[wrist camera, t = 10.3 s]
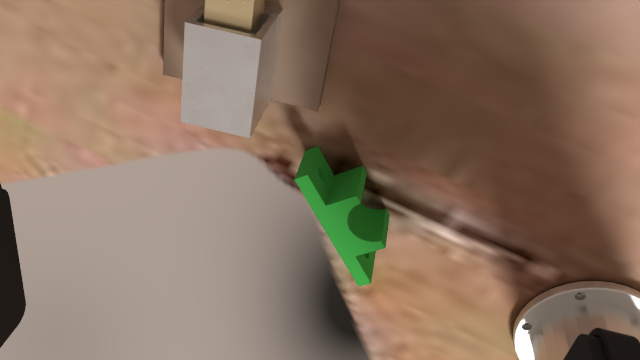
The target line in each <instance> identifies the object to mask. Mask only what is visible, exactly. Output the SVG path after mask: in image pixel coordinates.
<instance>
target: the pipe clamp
mask: <svg viewBox="0 0 640 360" xmlns="http://www.w3.org/2000/svg"><path fill="white" fill-rule="evenodd" d="M366 176H367V172H366V170H365V168H364V166H360V167H357V168H355V169H352V170H349V171H346V172H343V173H340V174H337V175H334V174H333V172H332V170H331V169H330V167H329V165H328V163H327V161H326V160H325V158H324V156H323V154H322V152H321V151H320V149H319V147H318V146H316V147H313V148H311V149H308V150H306V151H305V153H304V156H303V159H302V161H301V164H300V166H299V169H298V172H297V174H296V177H295V181H296V183H297V184H298V186H299V188H300V190H301V191H302V193H303V195H304V196H305V198H306V200H307V201H308V203H309V205H310V206H311V208H312V210H313V211H314V213H315V215H316V216H317V218H318V220H319V221H320V223H321V225H322V226H323V228H324V230H325V231H326V233H327V235H328V236H329V238H330V240H331V241H332V243H333V245H334V246H335V248H336V250H337V251H338V253H339V255H340V256H341V258H342V260H343V261H344V263H345V265H346V266H347V268H348V270H349V271H350V273H351V275H352V276H353V278H354V280H355V281H356V283H357V285H358V286H362V285H366V284H370V283H371V279H372V273H373V266H374V259H375V253H376V250H380V249H383V248H385V246H386V238H387V231H388V223H389V216H390V215H389V213H388V211H387V209H386V208H385V209H371V208H368V207H366V206H364V205H363V204H361V200H362V195H363V190H364V186H365V181H366Z"/></svg>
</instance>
